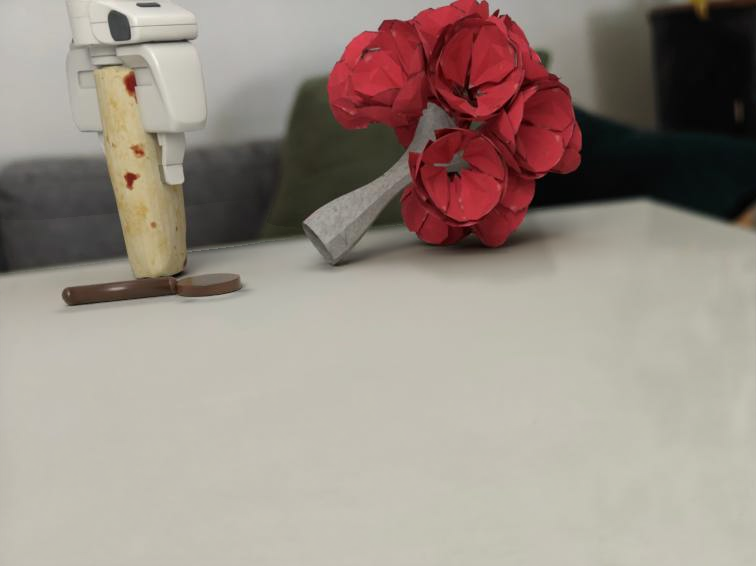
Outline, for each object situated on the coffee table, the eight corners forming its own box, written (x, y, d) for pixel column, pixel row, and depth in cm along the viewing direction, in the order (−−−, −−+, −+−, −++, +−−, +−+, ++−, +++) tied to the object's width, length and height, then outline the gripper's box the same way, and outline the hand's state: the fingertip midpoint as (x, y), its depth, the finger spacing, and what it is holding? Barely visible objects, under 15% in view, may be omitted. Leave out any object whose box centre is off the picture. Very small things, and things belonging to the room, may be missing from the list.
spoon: (61, 311, 101) (57, 293, 101) (66, 299, 107) (62, 282, 106) (243, 292, 104) (240, 274, 104) (239, 281, 110) (236, 264, 109)
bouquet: (417, 347, 109) (646, 155, 112) (264, 127, 97) (524, -83, 100) (354, 323, 128) (552, 160, 130) (219, 137, 116) (439, -41, 118)
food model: (191, 281, 112) (151, 54, 102) (122, 286, 111) (76, 59, 102) (200, 265, 120) (164, 54, 111) (137, 270, 120) (95, 59, 110)
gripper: (38, 31, 110) (70, 182, 116) (143, 17, 97) (173, 190, 103) (97, 28, 114) (125, 175, 120) (206, 15, 100) (231, 182, 107)
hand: (148, 182), depth 111 cm, fingers closed on food model, 8 cm apart
